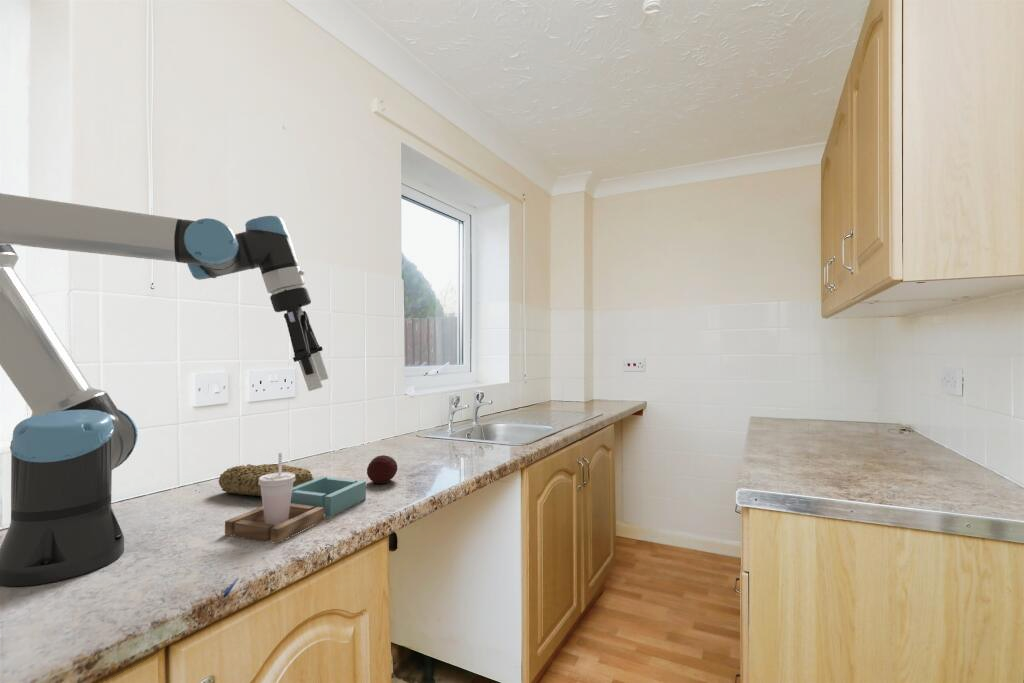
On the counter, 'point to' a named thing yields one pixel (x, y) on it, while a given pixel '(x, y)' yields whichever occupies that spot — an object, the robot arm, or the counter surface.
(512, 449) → the counter surface
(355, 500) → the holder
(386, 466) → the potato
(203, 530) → the counter surface
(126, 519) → the counter surface
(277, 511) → the smoothie
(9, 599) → the counter surface
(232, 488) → the sponge
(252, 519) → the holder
